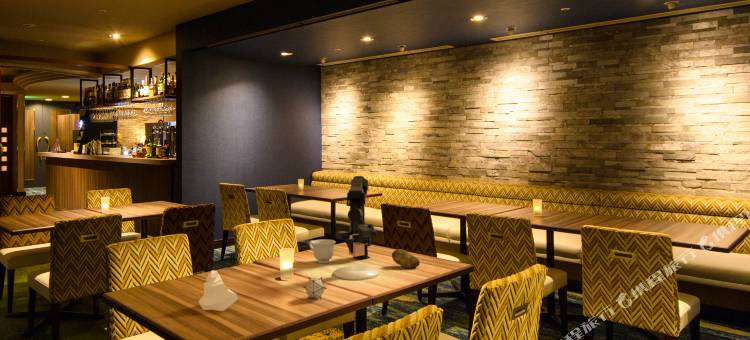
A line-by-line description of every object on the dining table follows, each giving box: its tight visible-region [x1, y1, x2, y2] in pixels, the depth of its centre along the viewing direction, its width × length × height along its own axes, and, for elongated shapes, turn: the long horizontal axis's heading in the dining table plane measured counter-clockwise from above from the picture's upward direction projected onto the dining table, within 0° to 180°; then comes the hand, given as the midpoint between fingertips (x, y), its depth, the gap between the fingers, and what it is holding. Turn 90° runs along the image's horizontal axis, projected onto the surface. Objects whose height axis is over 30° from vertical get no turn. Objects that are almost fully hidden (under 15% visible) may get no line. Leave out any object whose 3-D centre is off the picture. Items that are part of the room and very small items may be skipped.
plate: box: [333, 265, 380, 281], centre depth 242 cm, size 20×20×1 cm
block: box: [348, 242, 364, 257], centre depth 241 cm, size 5×5×5 cm
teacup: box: [308, 238, 336, 264], centre depth 265 cm, size 12×15×10 cm
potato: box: [391, 248, 421, 269], centre depth 254 cm, size 8×13×8 cm, turn 49°
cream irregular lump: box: [198, 270, 239, 312], centre depth 198 cm, size 12×15×14 cm
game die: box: [302, 276, 328, 300], centre depth 207 cm, size 9×8×10 cm
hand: (356, 252), depth 241 cm, fingers closed on block, 5 cm apart
